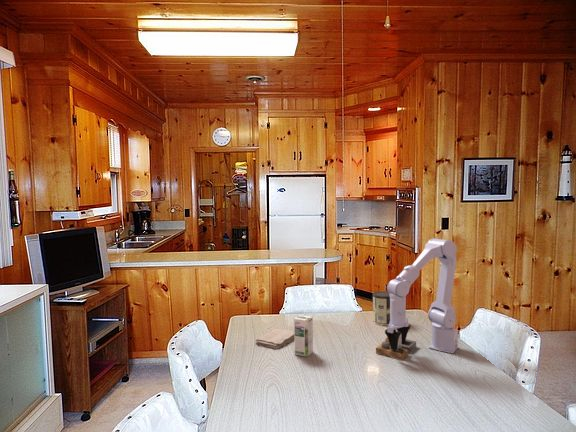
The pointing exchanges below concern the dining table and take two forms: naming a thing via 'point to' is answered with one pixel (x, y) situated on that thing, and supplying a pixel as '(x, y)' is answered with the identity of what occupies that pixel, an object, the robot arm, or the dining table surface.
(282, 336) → the washcloth
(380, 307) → the coffee can
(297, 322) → the syrup box
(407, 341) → the socket block
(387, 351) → the frame
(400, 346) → the metallic rounded cylinder
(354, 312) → the dining table surface
